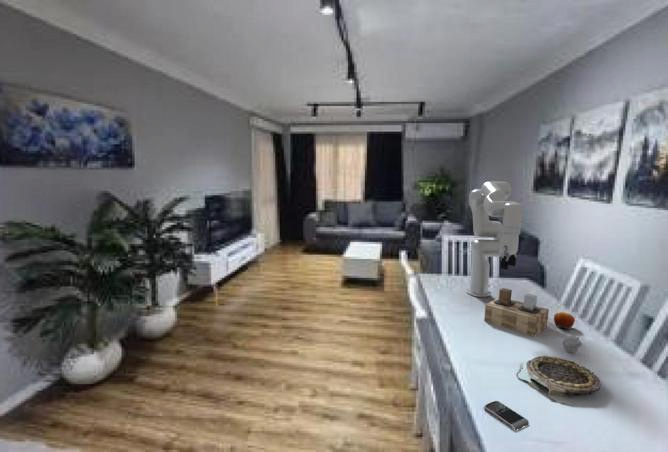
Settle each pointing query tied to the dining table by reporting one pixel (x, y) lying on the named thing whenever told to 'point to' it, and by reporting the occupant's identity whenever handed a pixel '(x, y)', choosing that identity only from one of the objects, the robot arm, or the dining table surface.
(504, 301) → the walnut peg
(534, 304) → the grey metal peg
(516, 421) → the cell phone
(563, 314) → the fruit
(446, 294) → the dining table surface
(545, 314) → the oak block
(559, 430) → the dining table surface
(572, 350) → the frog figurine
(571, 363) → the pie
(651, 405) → the dining table surface
